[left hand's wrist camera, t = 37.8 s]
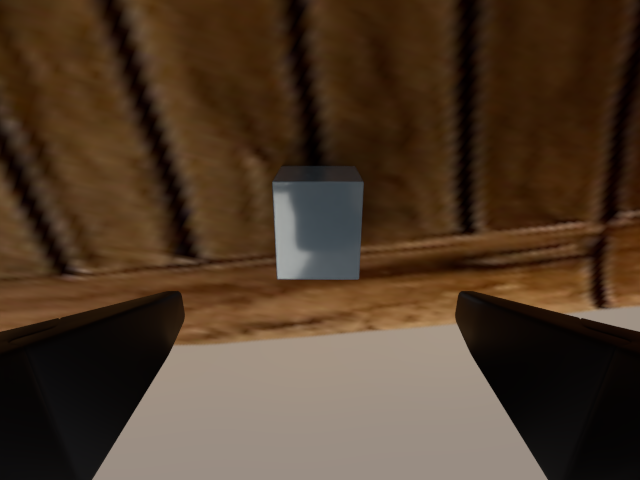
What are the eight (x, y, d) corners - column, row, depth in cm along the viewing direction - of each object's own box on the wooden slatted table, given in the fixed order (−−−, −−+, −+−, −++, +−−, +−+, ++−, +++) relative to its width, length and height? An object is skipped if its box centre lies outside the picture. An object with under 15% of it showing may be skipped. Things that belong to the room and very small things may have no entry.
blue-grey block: (284, 248, 22) (276, 279, 18) (281, 165, 20) (272, 181, 16) (352, 248, 22) (359, 279, 18) (355, 166, 20) (364, 181, 16)
